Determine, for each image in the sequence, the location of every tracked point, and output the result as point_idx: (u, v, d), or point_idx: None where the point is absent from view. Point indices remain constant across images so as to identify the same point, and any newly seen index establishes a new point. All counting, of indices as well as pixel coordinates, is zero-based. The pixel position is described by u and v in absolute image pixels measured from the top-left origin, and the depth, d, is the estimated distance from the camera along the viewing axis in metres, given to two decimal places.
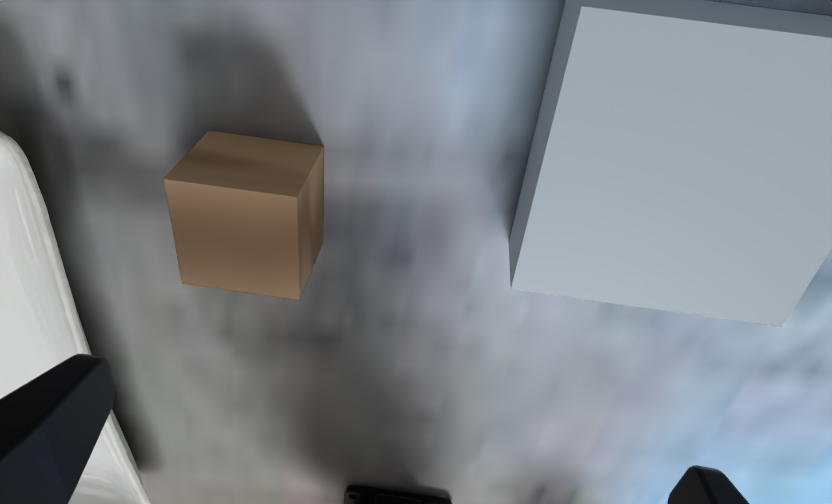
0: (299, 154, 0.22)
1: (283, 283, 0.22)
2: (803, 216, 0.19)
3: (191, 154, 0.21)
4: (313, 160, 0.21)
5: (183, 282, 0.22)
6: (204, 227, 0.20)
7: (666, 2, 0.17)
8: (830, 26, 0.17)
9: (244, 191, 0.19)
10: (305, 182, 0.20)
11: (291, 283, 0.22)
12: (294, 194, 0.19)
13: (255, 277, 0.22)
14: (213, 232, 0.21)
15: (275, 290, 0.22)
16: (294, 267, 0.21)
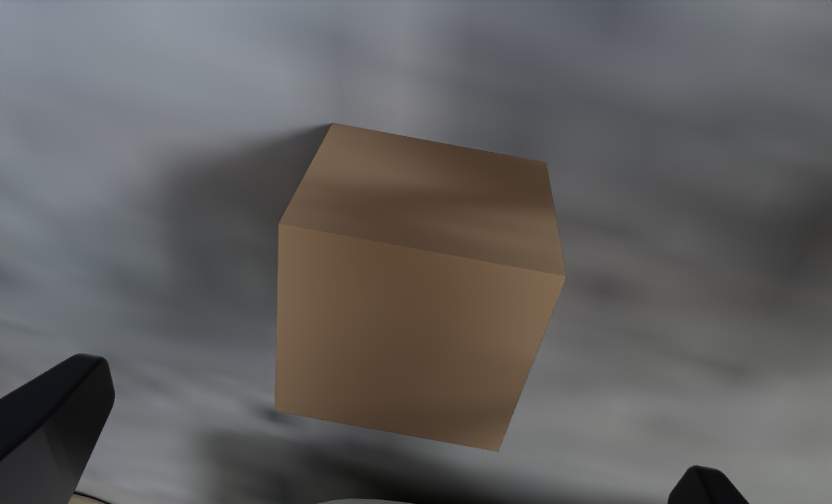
0: None
1: (512, 296, 0.09)
2: None
3: None
4: (318, 153, 0.11)
5: (496, 449, 0.12)
6: (367, 386, 0.11)
7: None
8: None
9: (280, 309, 0.10)
10: (301, 188, 0.10)
11: (513, 282, 0.09)
12: (281, 224, 0.09)
13: (491, 342, 0.10)
14: (379, 378, 0.11)
15: (530, 315, 0.10)
16: (466, 266, 0.09)
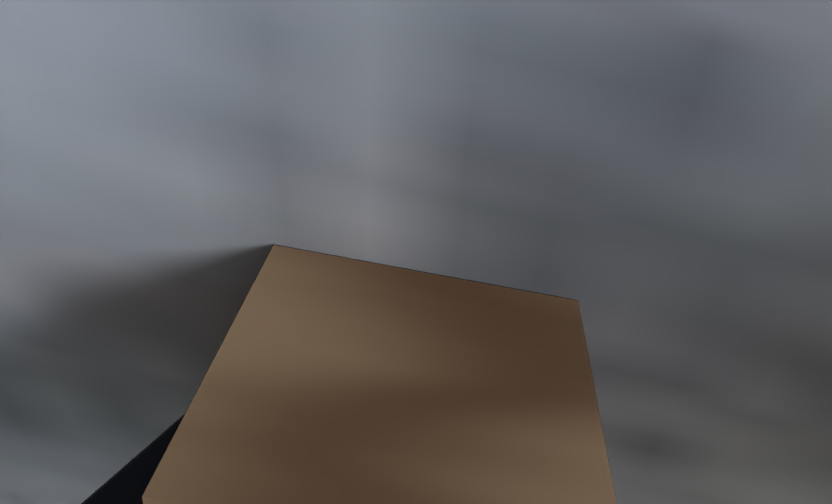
0: None
1: None
2: None
3: None
4: (241, 310, 0.07)
5: None
6: None
7: None
8: None
9: None
10: (199, 400, 0.06)
11: None
12: (151, 488, 0.05)
13: None
14: None
15: None
16: None
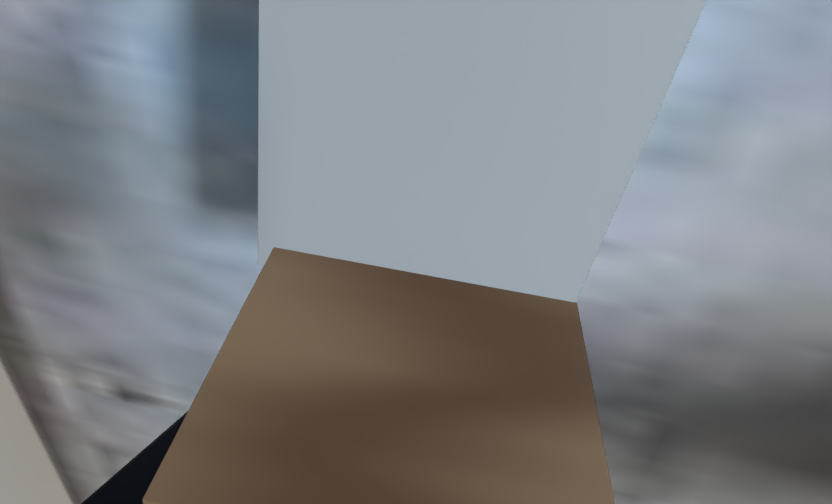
0: None
1: None
2: (487, 20, 0.14)
3: None
4: (242, 313, 0.08)
5: None
6: None
7: None
8: None
9: None
10: (199, 402, 0.06)
11: None
12: (151, 490, 0.06)
13: None
14: None
15: None
16: None
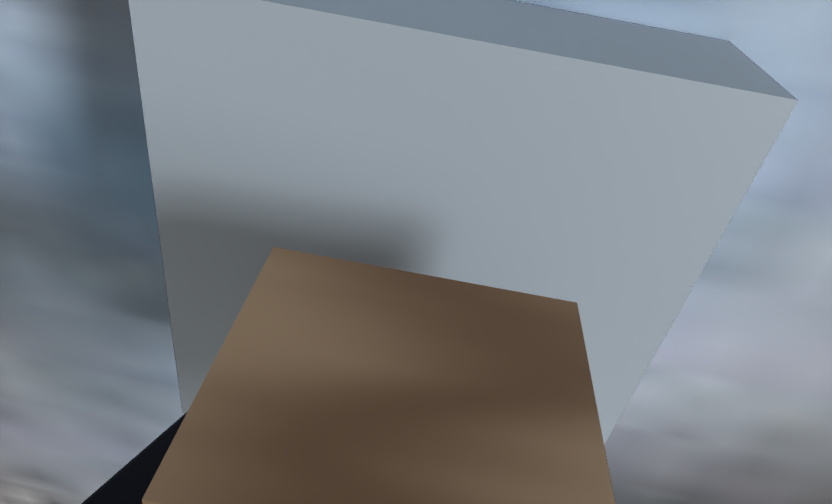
0: None
1: None
2: (470, 132, 0.09)
3: None
4: (242, 312, 0.07)
5: None
6: None
7: None
8: None
9: None
10: (199, 402, 0.06)
11: None
12: (151, 491, 0.05)
13: None
14: None
15: None
16: None
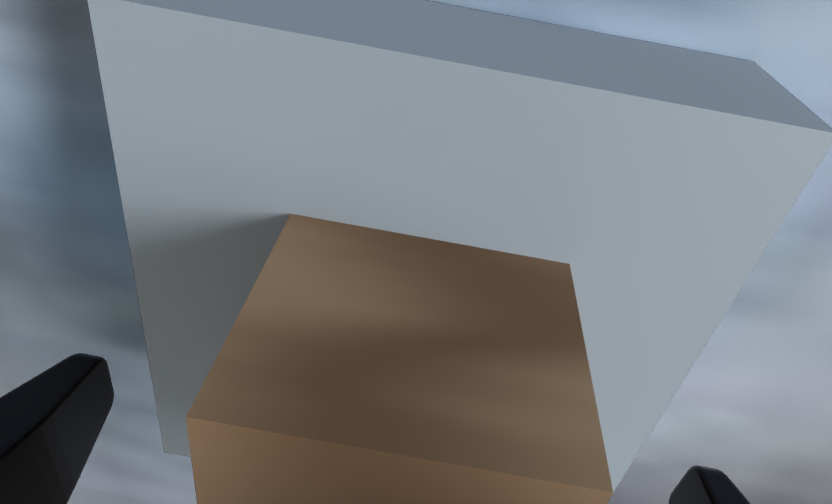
0: None
1: None
2: (472, 166, 0.09)
3: None
4: (264, 269, 0.08)
5: None
6: None
7: None
8: None
9: None
10: (230, 341, 0.07)
11: (534, 496, 0.06)
12: (193, 412, 0.06)
13: None
14: None
15: None
16: (464, 475, 0.06)
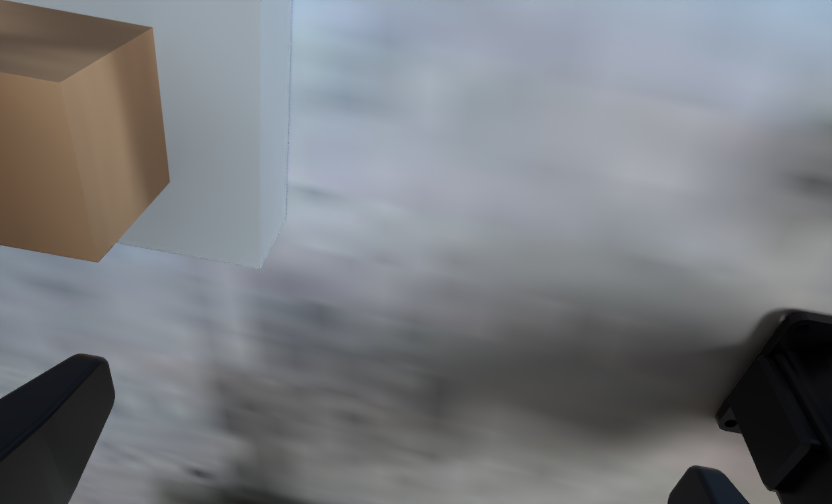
0: None
1: (31, 104, 0.12)
2: None
3: None
4: None
5: (95, 260, 0.14)
6: None
7: None
8: None
9: None
10: None
11: (25, 90, 0.12)
12: None
13: (37, 149, 0.12)
14: None
15: (53, 122, 0.12)
16: None
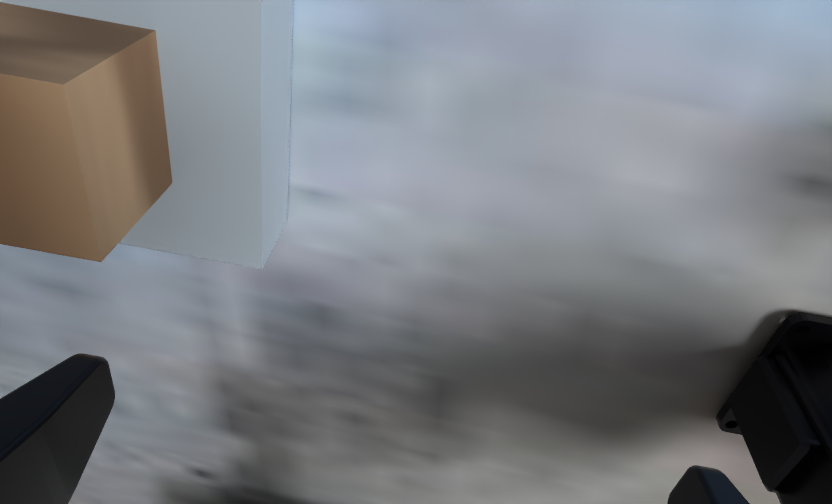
0: None
1: (35, 105, 0.12)
2: None
3: None
4: None
5: (98, 259, 0.14)
6: None
7: None
8: None
9: None
10: None
11: (29, 92, 0.12)
12: None
13: (41, 150, 0.13)
14: None
15: (57, 123, 0.12)
16: None
